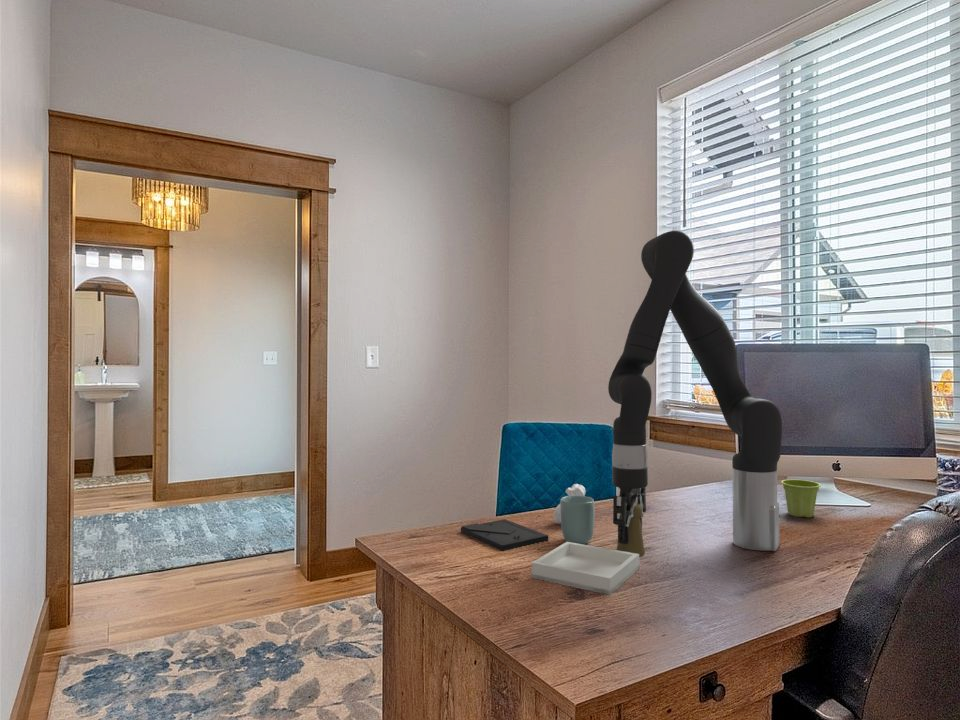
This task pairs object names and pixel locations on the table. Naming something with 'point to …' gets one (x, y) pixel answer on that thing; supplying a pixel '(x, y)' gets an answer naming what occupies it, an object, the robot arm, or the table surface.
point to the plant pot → (800, 497)
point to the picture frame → (503, 534)
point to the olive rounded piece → (634, 534)
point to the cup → (577, 518)
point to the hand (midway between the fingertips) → (630, 538)
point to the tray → (586, 567)
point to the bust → (574, 491)
